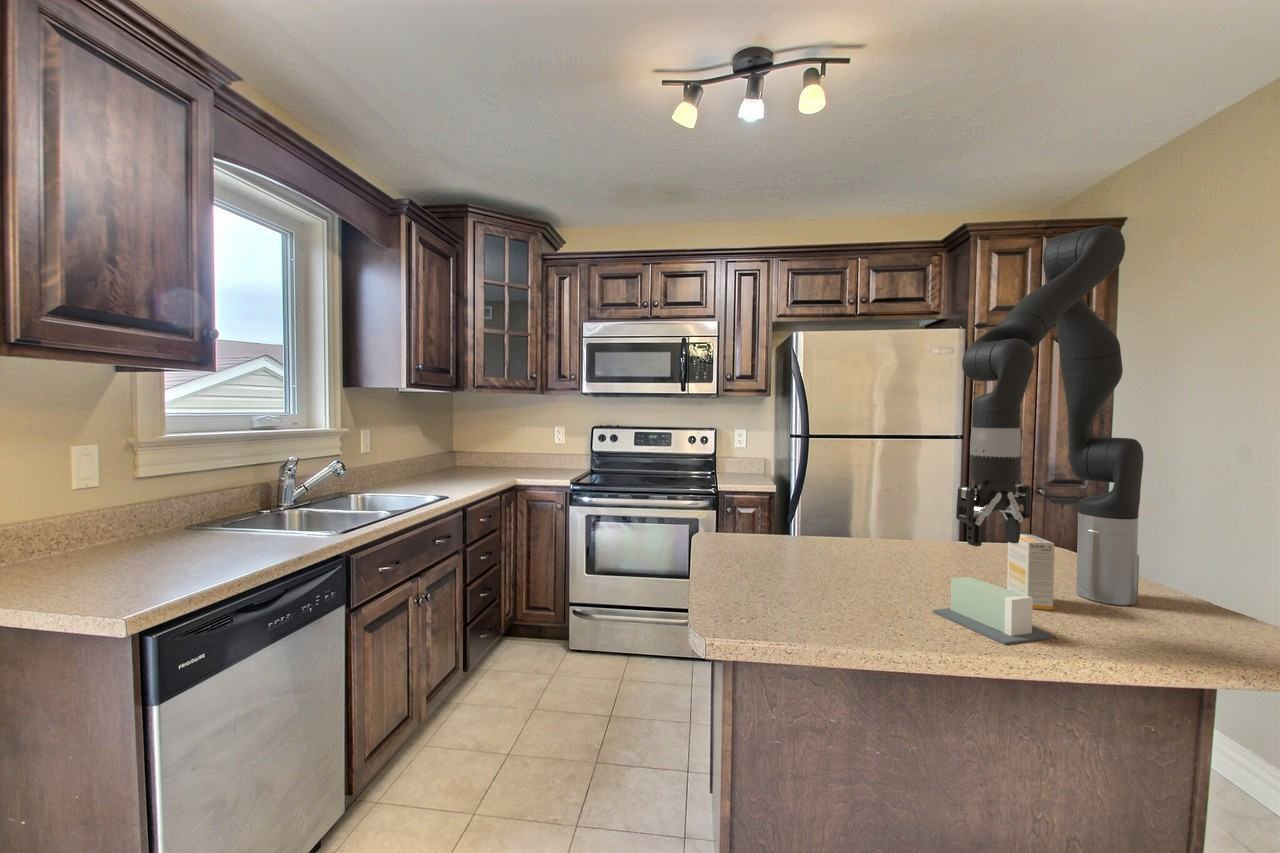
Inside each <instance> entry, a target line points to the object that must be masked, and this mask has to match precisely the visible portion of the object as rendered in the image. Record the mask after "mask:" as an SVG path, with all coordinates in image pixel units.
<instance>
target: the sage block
mask: <svg viewBox="0 0 1280 853" xmlns="http://www.w3.org/2000/svg"><path fill="white" fill-rule="evenodd" d="M1032 607H1033V598H1032V597H1029V596H1026V595H1022V594H1019V593H1016V592H1013V591H1010V590H1007V588H1005V587H1002V586H999V585H996V584H993V583H989V582H986V581H983V580H980V579H978V578H975V577H971V576H965V577H963V576H962V577H954V578H953V577H952V578H950V608H951V610H952V611H954V612H957V613H959V614H961V615H964V616H966V617H968V618H971V619H973V620H976V621H978V622H980V623H983V624H985V625H987V626H990V627H992V628H994V629H997V630H999V631H1001V632H1004V633H1005V634H1008V635H1010V636H1015V635H1023V634H1030V633H1032V626H1033V609H1032Z"/></svg>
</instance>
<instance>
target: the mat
mask: <svg viewBox="0 0 1280 853" xmlns="http://www.w3.org/2000/svg"><path fill="white" fill-rule="evenodd" d="M932 613H933V614H936V615H938V616H940V617H943V618H945V619H947V620H949V621H951V622H954V623H956V624H958V625H960V626H963V627H964V626H965V627H964V628H966V627H967V629H968V630H971V631H974V632H976V633H977V632H978V634H980V635H982V636H983V637H984V636H985V637H987V638H988V639H990V640H993V641H995V642H997V643H999V644H1002V645H1003V646H1005V645H1007V646H1008V645H1014V644H1021V643H1022V644H1023V643H1027V642H1028V643H1029V642H1034V641H1041V640H1048V639H1049V640H1050V639H1055V638H1056V635H1055V634H1053V633H1050V632H1047V631H1045V630H1042V629H1040V628H1038V627H1035V626H1033V625H1032V633H1030V634H1023V635H1015V636H1010V635H1008V634H1005V633H1004V632H1001V631H999V630H997V629H994V628H992V627H990V626H987V625H985V624H983V623H980V622H978V621H976V620H973V619H971V618H968V617H966V616H964V615H961V614H959V613H957V612H954V611H952V610H951V607H948V608H939V609H932Z"/></svg>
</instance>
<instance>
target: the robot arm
mask: <svg viewBox="0 0 1280 853" xmlns="http://www.w3.org/2000/svg"><path fill="white" fill-rule="evenodd" d="M1125 243H1126V241H1125V238H1124V234H1122V232H1121V231H1120V229H1119V228H1118V227H1116V226H1113V225H1099V226H1093V227H1090V228H1086V229H1081V230H1080V229H1079V230H1076V231H1073V232H1069V233H1063V234H1060V235H1057V236H1054V237H1052V238H1050V239H1049V241H1048V242H1046V244H1045V247H1044V250H1043V254H1042V264H1043V267H1042V268H1043V272H1044V277H1045V280H1046V281H1045V282H1046V283H1044V284H1043V285H1041V286H1040V287H1037V288H1036V289H1034V290H1033V291H1032V292H1030V293H1028V294H1027V295H1026V296H1024V297H1023V298H1022V299H1021V300H1020V301H1019V302H1017V304H1016V305H1014V307H1013V308H1012V309H1011V310H1010V312H1008V314H1007V315H1006V316H1005V317H1004V318H1003V320H1002V321H1001V322H1000V323H999V324H997V325H996V326H994V327H993V328H991V329H990V330H988V331H987V332H985V333H983V335H981V336H980V337H979V338H977V339H976V340H975V341H974V342H972V343H971V344H970V345H969V346H968V348H967V349H966V350H965V352H964V355H963V357H962V361H961V368H962V371H963V374H965V376H966V377H967V378H969V379H970V380H972V381H976V382H994V381H995V382H996V381H997V382H996V383H995V385H994V388H993V390H992V391H990V392H988V393H985V394H980V395H979V396H976V397H975V398H974V399H973V402H972V413H971V416H972V418H971V420H972V421H971V427H972V428H971V435H970V440H969V441H970V442H969V477H970V478H971V479H972V480H973V485H972V487H969V486H968V487H967V486H961V485H960V486H958V488H957V497H956V498H957V499H956V514H955V519H957V520H958V521H962V522H964V523H965V525H966V527H965V528H966V532H965V534H966V538H965V539H966V542H967V544H968V545H969V546H973V547H981V546H982V544H983V543H982V539H983V538H982V536H983V534H982V533H983V526H982V523H983V522H984V520H985V518H986V517H988V516H990V515H991V513H992V512H997V511H1000V512H1001V513H1002V515H1003V517H1004V519H1005V520H1004V541H1005V542H1006V543H1008V542H1010V543H1019V538H1020V534H1021V523H1023V521H1024V520H1025V519H1028V520H1029V519H1031V516H1032V505H1031V504H1032V502H1031V500H1032V499H1031V498H1032V496H1031V486H1029V485H1026V484H1019V483H1018V484H1017V482H1020V481H1021V479H1022V478H1021V477H1022V437H1021V429H1020V428H1021V404H1022V402H1023V398H1024V396H1025V392H1026V389H1027V388H1028V387H1027V386H1028V383H1029V382H1030V378H1031V375H1032V372H1033V369H1034V365H1035V355H1034V351H1033V349H1034V347H1036V346H1038V344H1040V343H1041V342H1042V341H1043V339H1044V338H1045V337H1046V335H1048V333H1049V332H1050V331H1051V330H1052V328H1053V327H1054V326H1056V332H1057V341H1058V350H1059V352H1058V353H1059V362H1060V371H1061V376H1062V383H1063V388H1064V392H1065V393H1064V394H1065V402H1066V410H1067V411H1066V412H1067V431H1068V432H1067V433H1068V458H1069V466H1070V469H1071V472H1072V474H1073V475H1074V476H1075V478H1077V479H1080V480H1084V481H1091V482H1102V483H1112V484H1113V486H1112V489H1111V491H1109V492H1107V493H1105V494H1104V493H1103V494H1101V495H1096V496H1090V497H1089V496H1088V497H1084V498H1081V499H1080V500H1079V501H1078V506H1077V507H1078V508H1077V511H1078V512H1077V541H1076V542H1077V546H1076V547H1077V548H1076V550H1077V551H1076V576H1075V577H1076V581H1075V582H1076V583H1075V584H1076V586H1075V592H1076V594H1077V595H1078V596H1080V597H1082V598H1085V599H1088V600H1091V601H1095V602H1099V603H1104V604H1109V605H1116V606H1133V605H1136V602H1137V601H1139V576H1140V575H1139V574H1140V569H1139V568H1140V554H1138V546H1139V544H1138V543H1139V542H1138V539H1139V536H1138V535H1139V533H1138V532H1139V510H1140V503H1141V491H1142V490H1141V489H1142V476H1143V469H1144V450H1143V446H1142V444H1141V443H1140V441H1139V440H1137V439H1135V438H1128V437H1104V436H1103V437H1102V436H1095V435H1094V424H1095V419H1096V416H1097V414H1098V413H1099V411H1100V409H1101V408H1102V406H1103V405H1104V404H1105V402H1106V401H1107V400H1108V398H1109V397H1110V396H1111V394H1112V393H1113V391H1115V389H1116V387H1117V386H1118V384H1119V383H1120V381H1121V379H1122V376H1123V372H1124V371H1123V361H1122V353H1121V344H1120V341H1119V339H1118V337H1117V335H1115V333H1114V332H1113V331H1112V329H1111V328H1110V327H1109V326H1108V325H1107V324H1106V323H1105V322H1104V321H1103V320H1102V319H1100V317H1098V315H1097V314H1096V313H1095V312H1094V311H1093V310H1092V309H1091V308H1090V307H1089V306H1088V303H1087V302H1086V301H1085V298H1084V296H1086V295H1087V294H1088V293H1089V292H1091V291H1092V290H1093V289H1094V288H1095V287H1096V286H1098V285H1100V283H1102V281H1104V280H1105V279H1106V278H1107V277H1109V276H1110V275H1111V274H1112V273H1113V272H1114V271H1115V270H1116V269H1117V268H1118V267H1119V266H1120V265H1121V263H1122V261H1123V259H1124V256H1125V252H1126V244H1125ZM1021 505H1022V509H1021ZM965 509H966V512H965Z"/></svg>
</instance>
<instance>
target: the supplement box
mask: <svg viewBox="0 0 1280 853" xmlns="http://www.w3.org/2000/svg"><path fill="white" fill-rule="evenodd" d="M1054 576H1055V543H1054V542H1052V541H1049V540H1046V539H1044V538H1041V537H1039V536H1036V535H1034V534H1028V533H1027V534H1025V533H1023V534H1022V533H1020V538H1019V543H1010V542H1007V580H1006V581H1007V582H1006V585H1007V586H1006V589H1007V590H1010V591H1013V592H1016V593H1019V594H1022V595H1026V596H1029V597H1032V598H1033V607H1032V610H1047V611H1053V610H1054V586H1055V585H1054V580H1055V579H1054V578H1055V577H1054Z"/></svg>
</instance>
